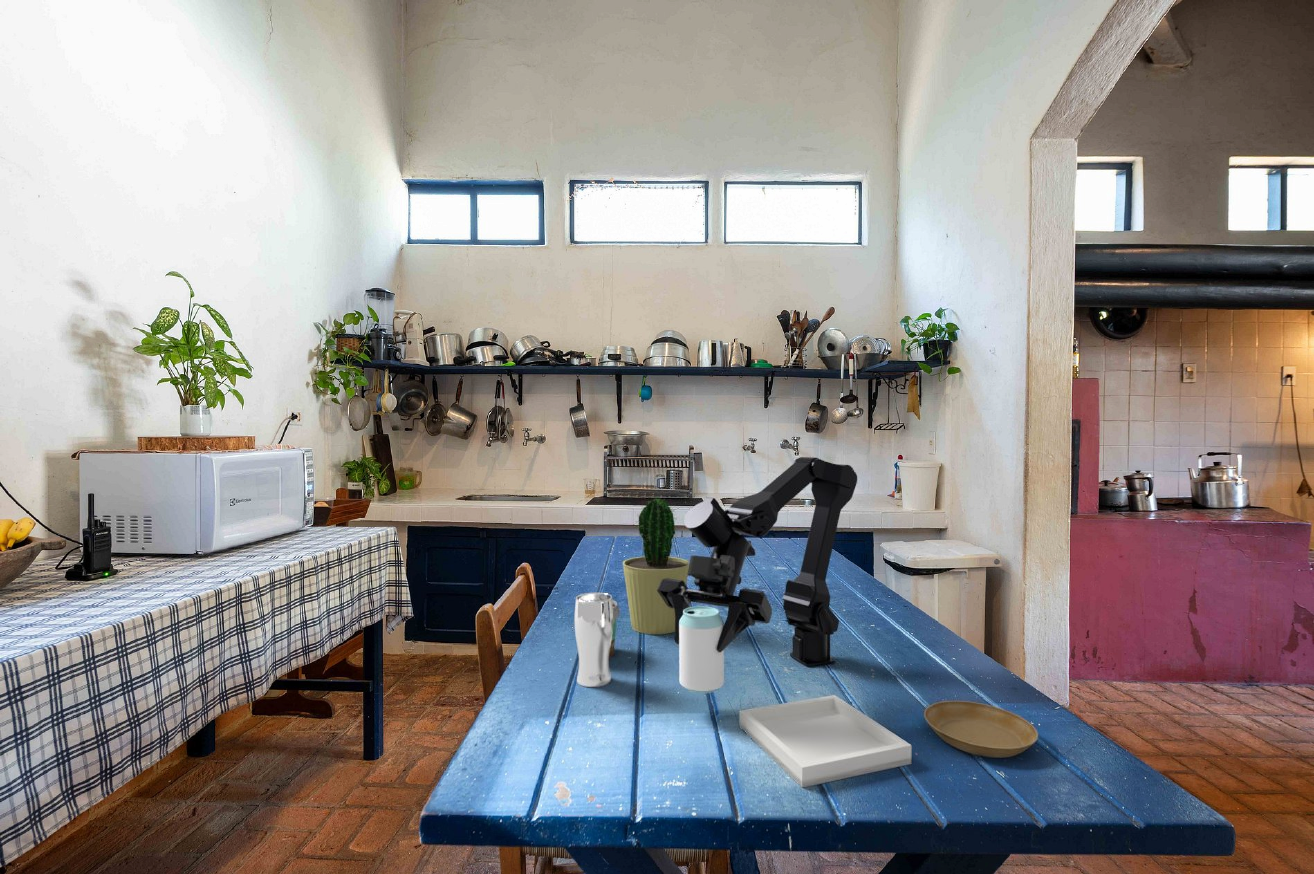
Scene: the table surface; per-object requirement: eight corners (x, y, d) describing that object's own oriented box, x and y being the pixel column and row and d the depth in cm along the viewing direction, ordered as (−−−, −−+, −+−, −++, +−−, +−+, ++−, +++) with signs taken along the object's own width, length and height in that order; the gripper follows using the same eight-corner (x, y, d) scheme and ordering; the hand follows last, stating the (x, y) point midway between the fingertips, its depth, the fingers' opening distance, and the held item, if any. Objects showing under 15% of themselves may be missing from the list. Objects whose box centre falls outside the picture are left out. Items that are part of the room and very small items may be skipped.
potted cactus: (655, 612, 153) (655, 492, 153) (703, 626, 142) (703, 496, 142) (608, 626, 142) (608, 496, 142) (656, 642, 131) (656, 501, 131)
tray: (834, 710, 99) (834, 694, 99) (911, 763, 83) (911, 745, 83) (739, 727, 93) (739, 710, 93) (802, 787, 77) (802, 767, 77)
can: (692, 698, 94) (692, 619, 93) (671, 681, 100) (671, 607, 100) (732, 690, 97) (732, 613, 96) (709, 674, 103) (709, 602, 103)
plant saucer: (1026, 779, 80) (1026, 759, 80) (909, 742, 89) (909, 724, 89) (1046, 737, 91) (1046, 719, 91) (940, 708, 101) (941, 692, 101)
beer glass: (620, 676, 112) (620, 594, 112) (600, 691, 106) (601, 604, 106) (587, 670, 115) (587, 590, 115) (566, 684, 109) (566, 599, 109)
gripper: (662, 531, 106) (627, 611, 97) (765, 540, 97) (738, 630, 87) (683, 567, 113) (653, 646, 104) (782, 580, 104) (758, 667, 94)
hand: (697, 646), depth 97 cm, fingers closed on can, 7 cm apart
